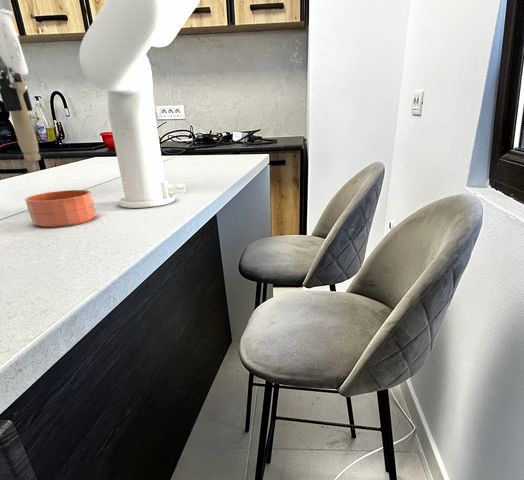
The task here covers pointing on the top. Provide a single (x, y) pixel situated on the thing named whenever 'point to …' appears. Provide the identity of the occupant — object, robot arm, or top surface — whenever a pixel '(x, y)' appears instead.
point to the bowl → (61, 208)
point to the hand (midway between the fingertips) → (19, 110)
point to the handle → (24, 127)
